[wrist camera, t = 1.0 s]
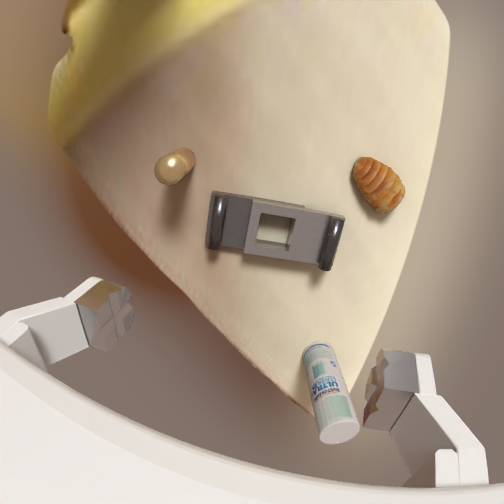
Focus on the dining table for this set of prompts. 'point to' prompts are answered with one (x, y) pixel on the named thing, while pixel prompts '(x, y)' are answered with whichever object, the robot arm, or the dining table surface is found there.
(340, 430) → the spray can
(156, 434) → the robot arm
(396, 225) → the dining table surface
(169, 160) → the gold rounded cylinder
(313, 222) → the grey roller block
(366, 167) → the pastry
